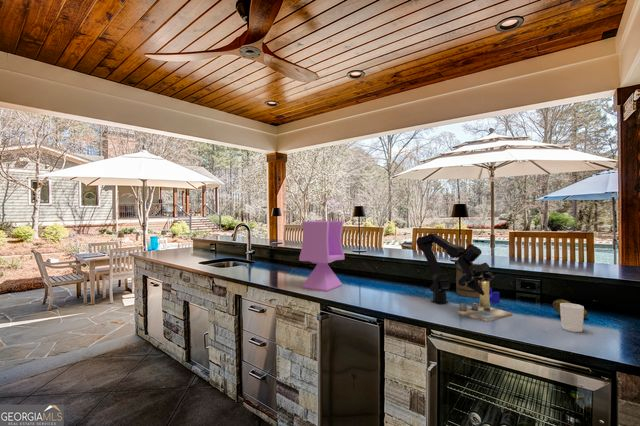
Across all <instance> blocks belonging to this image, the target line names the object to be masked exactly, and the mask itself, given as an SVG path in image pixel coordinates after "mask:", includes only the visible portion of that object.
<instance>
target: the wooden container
mask: <svg viewBox="0 0 640 426" xmlns="http://www.w3.org/2000/svg"><path fill="white" fill-rule="evenodd" d="M471 262H472V264H473V265H476V266H477V265H480V264H479V263H474V262H473V261H471ZM455 266H456V271H455V273H456V275H455V276H456V279H455V283H456V284H455V288H456V289H455V293H456V294H457V295H458V296H462V297H468V298H480V294H479V293H478V292H476V291H475V290H473V289H471V288H469V287H467V285H468V284H467V282H465V286H460V285H459V284H458V280H459V279H460V278H461V277H462V276H463V275H466V274H463V273H462V272H463V270H462V269H461V267H460V266H459V265H455ZM483 274H484V273H483ZM483 274H482V275H483ZM482 275H481V276H482ZM478 284H480V283H479V281H478Z"/></svg>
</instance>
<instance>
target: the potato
mask: <svg viewBox="0 0 640 426" xmlns="http://www.w3.org/2000/svg"><path fill="white" fill-rule="evenodd" d="M560 303H571V302H570V301H568V300H565V299H560V298H559V299H556V300H554V301H553V302H552V306H553V309H554V311H555V312H557V313H558V314H560V315H561V313H560ZM587 317H588V311H587V310H586V309H585V308H584V318H583V319H586V318H587Z"/></svg>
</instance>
